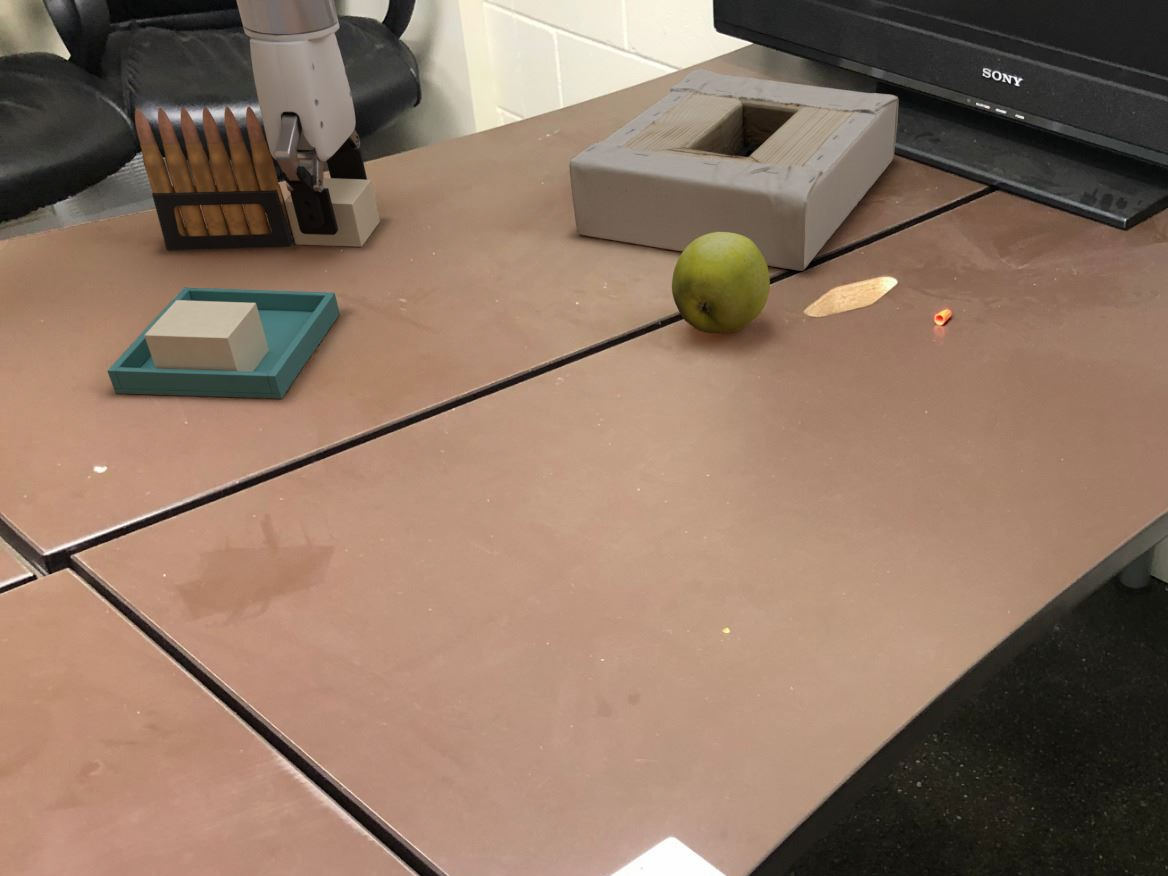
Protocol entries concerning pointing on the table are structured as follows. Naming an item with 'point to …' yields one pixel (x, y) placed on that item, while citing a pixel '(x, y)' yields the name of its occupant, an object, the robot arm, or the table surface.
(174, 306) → the pad
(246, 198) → the ammunition clip
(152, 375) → the tray
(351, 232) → the beige rectangular block
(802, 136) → the hollow concrete block
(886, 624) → the table surface
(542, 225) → the table surface
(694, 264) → the apple
